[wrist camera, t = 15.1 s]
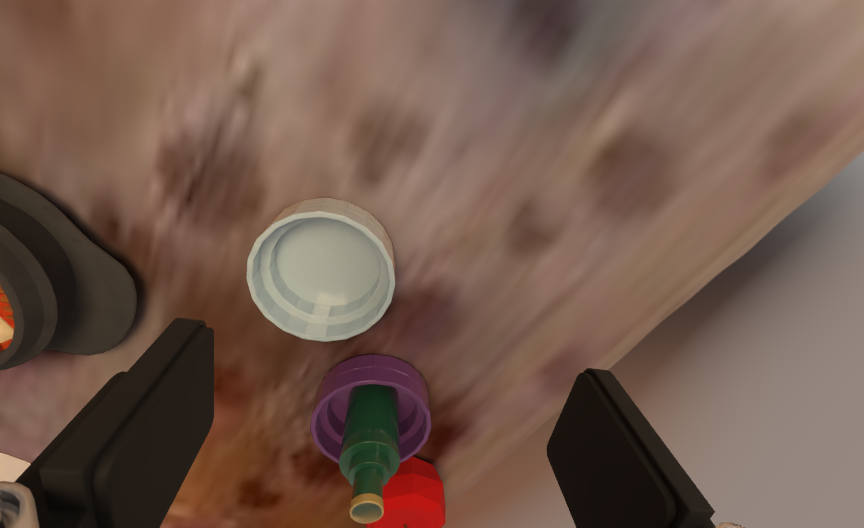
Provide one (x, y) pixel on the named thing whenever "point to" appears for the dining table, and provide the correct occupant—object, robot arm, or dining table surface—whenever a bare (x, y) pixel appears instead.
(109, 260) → the casserole
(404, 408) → the plum bowl
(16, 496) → the robot arm
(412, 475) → the apple
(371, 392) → the bottle
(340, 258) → the pale bowl
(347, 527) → the dining table surface
